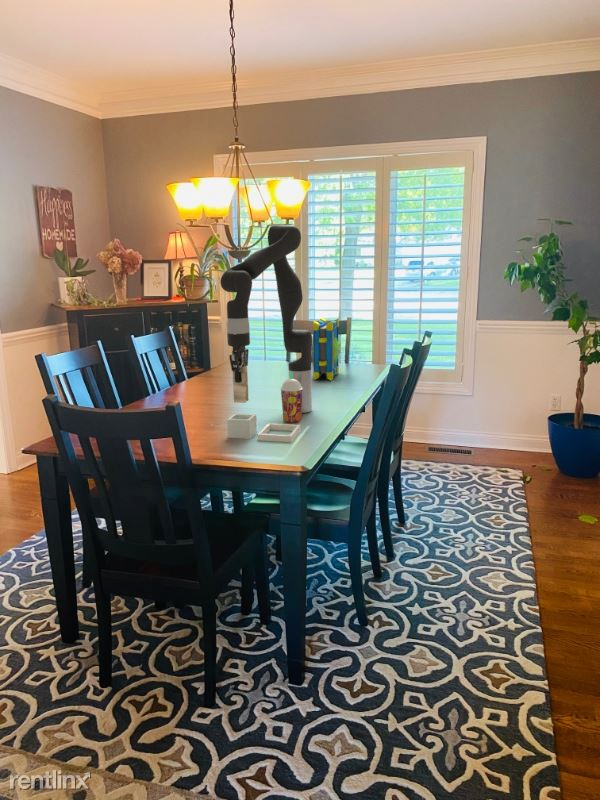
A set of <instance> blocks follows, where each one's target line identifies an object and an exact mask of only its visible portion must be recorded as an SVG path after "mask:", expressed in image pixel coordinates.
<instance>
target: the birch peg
mask: <svg viewBox="0 0 600 800" xmlns="http://www.w3.org/2000/svg"><path fill="white" fill-rule="evenodd" d="M236 367H237V366H236ZM241 378H242V382H241V383H236V382H235V372H234V371H232V385H233V386H232V387H233V388H232V389H233V403H241V404H245V403H247V402H248V401H249V379H248V378H249V376H248V366H241Z"/></svg>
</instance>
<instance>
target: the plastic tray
mask: <svg viewBox="0 0 600 800" xmlns="http://www.w3.org/2000/svg"><path fill="white" fill-rule="evenodd" d="M301 425H302V424H294V423H290V424H288V423H267V424H266V425H265V426H264V427H263V428H262V429H261V430H260V431H259V432H258V433H256V434H257V437H256V438H257V441H267V442H269V441H270V442H287V443H292V442H293V441H294V440H295V438H296V437H297V436H298V435H299V433H300V432H301V431H302V429H301V428H302V426H301ZM270 431H291V432H290V434H273V433H269V432H270Z"/></svg>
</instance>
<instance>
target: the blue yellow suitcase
mask: <svg viewBox="0 0 600 800" xmlns="http://www.w3.org/2000/svg"><path fill="white" fill-rule="evenodd" d="M312 324H313V325H312V326H313V327H312V332H313V349H312V352H313V381H316V380H317V379H319V378H321V376H322V375H323V374H326V379H327V380H329V381H331V382H332V381H333V380H334V376H336V375H339V374H340V365H339V362H340V361H339V357H340V356H339V355H340V354H341V342H340V339H339V337H340V336H339V333H340V332H339V331H340V327H339V326H340V317H339V318H336V319H334V320H332V321H330V322H328V323H327V319H325V318H324V317H320V318H319V320H318V321H317V320H314V321H313V322H312Z"/></svg>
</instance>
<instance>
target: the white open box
mask: <svg viewBox="0 0 600 800" xmlns="http://www.w3.org/2000/svg"><path fill="white" fill-rule="evenodd" d="M226 422H227V423H226V424H227V425H226V426H227V437H228V439H229V438H231V439H247V440H250V439H251V438H252V437H253V436H254V435H256V434H257V432H258V426H257V414H252V413H234V414H232V415H231V416H230V417H228V418H227V420H226Z"/></svg>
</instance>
